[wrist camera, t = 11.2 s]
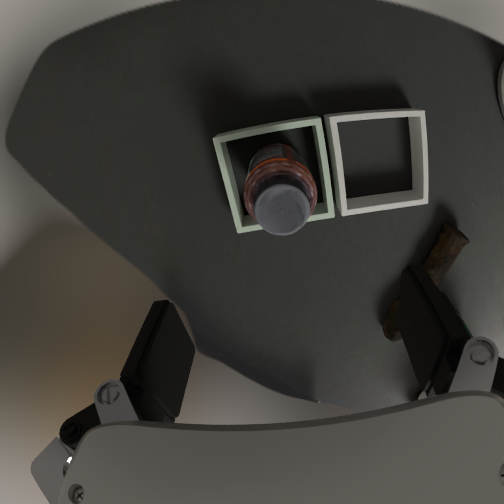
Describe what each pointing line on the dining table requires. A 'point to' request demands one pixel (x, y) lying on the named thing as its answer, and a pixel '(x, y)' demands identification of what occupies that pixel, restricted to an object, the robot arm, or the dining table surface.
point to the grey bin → (417, 155)
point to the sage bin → (246, 222)
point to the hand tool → (431, 270)
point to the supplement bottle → (279, 189)
